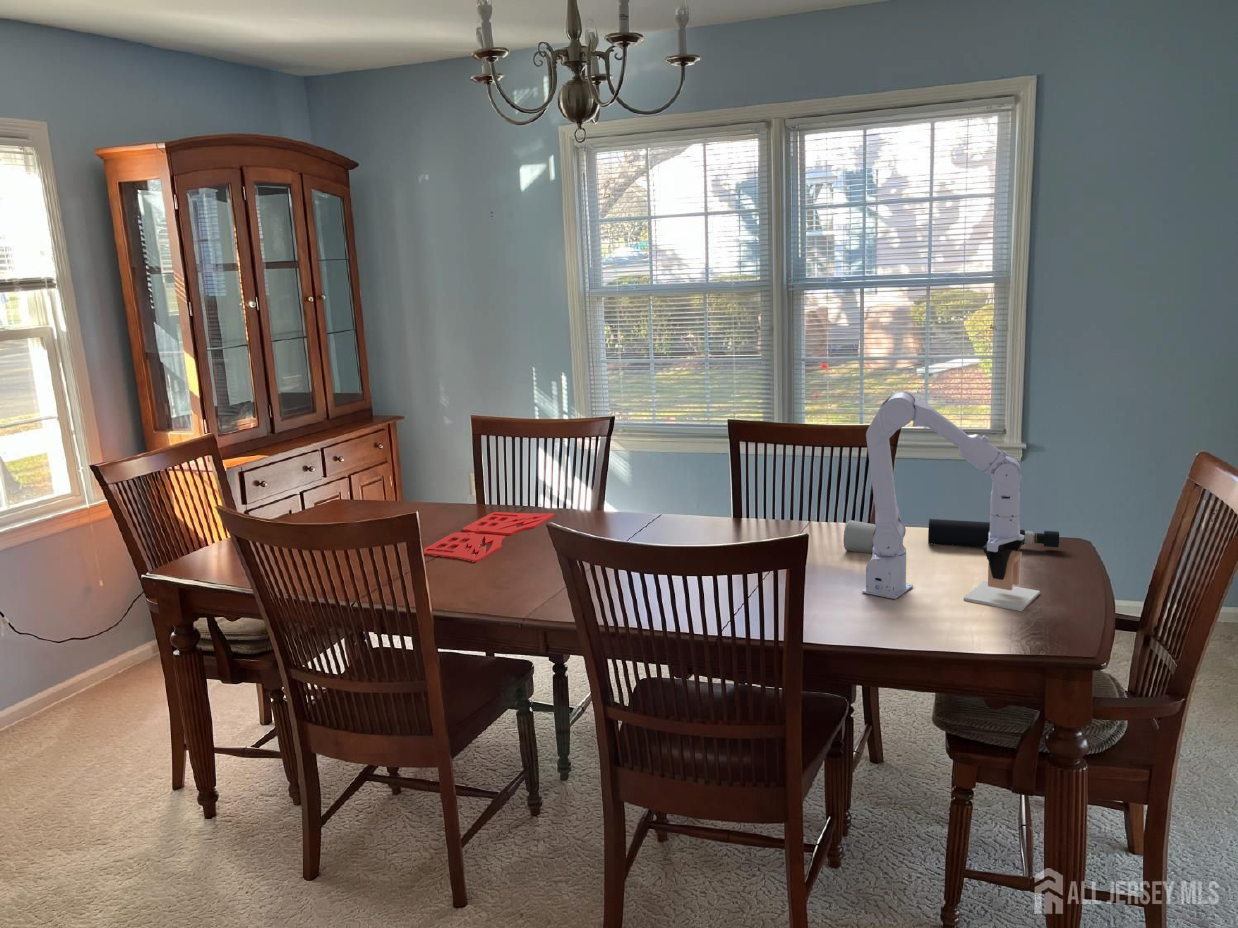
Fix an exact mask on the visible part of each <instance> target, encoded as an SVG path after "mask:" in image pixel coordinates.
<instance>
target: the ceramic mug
mask: <svg viewBox="0 0 1238 928" xmlns="http://www.w3.org/2000/svg"><path fill="white" fill-rule="evenodd" d="M875 532H876V526H875V524H874V523H869V522H863V521H858V520H852V519H850V520H848V521H847V523H846V524H845V527H844V531H843V542H842V543H843V548H844V550H845V551H850V552H857V553H858V552H859V553H866V554H873V546H874V545H873V537H874V534H875Z"/></svg>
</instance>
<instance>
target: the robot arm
mask: <svg viewBox="0 0 1238 928" xmlns="http://www.w3.org/2000/svg"><path fill="white" fill-rule="evenodd" d="M911 422H912V425H911V426H912V427H926V428H928V429H930V430H932V431H933V432H934V433H936V434H937V435H939V436H941V437H942V438H944V439H945V440H947V441H948V442H949V443H951V444H953V445H955V446H956V447H957V449H958V454H959V456H960V457H961V458H962V459H963V460H965V461H966V462H968V463H969V464H970V465H972V466H974V467H975V468H976V469H978V470H979V471H980V472H982V473H983V474H986V475H988V476H990V479H991V480H992V486H991V487H992V489H991V492H990V504H989V505H990V506H989V507H990V509H989V512H990V513H989V522H990V532H989V541H988V542H987V544H986V545H985V546H983V548H982V550H983V551H982V552H983V553H984V555H985V556H986V560H988V565H989V564H990V569H991V573H992V577H993V578H995V579H1000V580H1003V579H1004V576H1005V572H1006V566H1007V562H1008V559H1009V556H1010V554H1011V552H1012V551H1020V549H1021V547H1022V546H1023V545H1022V544H1023V543H1024V535H1021V534H1020V530H1021V525H1020V511H1021V510H1020V506H1021V492H1020V489H1021V485H1020V483H1021V481H1022V480H1023V474H1022V469H1021V465H1020V462H1019V460H1017V459H1016V458H1015V456H1014V455H1012V454H1008V452H1007V451H1006V450H1001V449H999V448H998V447H996V446H995V445H993V444H992V443H991V442H989V441H990V439H989V437H987V436H986V435H985V434H983V435H982V436H981V435H980V434H978V433H975V434H967V433H966V432H965V431H964V430H962V429H961V428H959V427H958V426H957V425H956V424H954V423H953V422H951V421H950V419H948V418H946V417H945V415H943V414H941V412H939V411H938V410H936V409H935V408H934V407H932V406H931V405H929V404H928V403H927V402H925V401H924V400H922V399H921V398H918V397H916V398H915V396H913V394H912V393H910V392H909V391H904V390H898V391H896V392H893V393H892V394H891V395H889V396H888V397H887V398H886V399H885V400H884V401H883V402H882V403H881V405H880V406H879V408H878V410H877V412H876V414H875V415H874V417H873V419H872V421H871V423H869V424H870V425H869V426H868V428H867V430H866V431H865V432H866V433H865V437H866V445H867V447H866V448H867V454H868V461H869V462H868V463H869V470H870V478H871V485H872V494H873V503H874V511H875V513H874V514H875V519H874V521H875V522H874V523H875V524H874V525H875V526H876V532H875V534H874V537H873V545H874V546H873V553H871V554H872V555H871V558H870V560H869V561H868V562H867V563H866V566H865V587H864V588H863V589H862V590H861V592H862V593H863V594H868V595H872V596H878V597H883V598H888V599H893V600H896V599H897V598H899V597H900V596H902V595H903V594H904V593H906V592H907V591H909V590H910V589H912V588H913V587H914V584H912V583H907V548H906V547H905V546H904V537H905V536H906V533H907V532H906V531H907V529H906V525H905V524H904V522H903V521H902V518H901V516H900V511H899V507H898V503H897V493H896V485H895V478H894V477H895V475H894V469H893V460H892V452H891V443H890V438H891V437H893V435H894V434H895V433H896V432H897V431H899V430H901V429H902V428H903V427H905V426H907V425H909V424H910V423H911Z"/></svg>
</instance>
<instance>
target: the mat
mask: <svg viewBox="0 0 1238 928" xmlns="http://www.w3.org/2000/svg"><path fill="white" fill-rule="evenodd" d="M1040 594H1041V591H1040V590H1037V589H1032V588H1031V589H1030V588H1026V587H1025V588H1024V587H1019V586H1015V585H1013V588H1012V590H1005V589H1000V588H994V587H989V586H988V580H983V581H982V582H981V583H980V584H978V585H977V586H976V587H974V589H972V590H971V591H970V592H968V594H966V595H965V596H964V597H963V601H965V602H966V601H967V602H972V603H977V604H981V605H986V606H992V607H997V608H1001V609H1008V610H1012V611H1018V612H1023V610H1025V608H1027V607H1028V605H1030V604H1032V602H1033V601H1034V600H1035V599H1036V598H1037V597H1038V596H1039V595H1040Z"/></svg>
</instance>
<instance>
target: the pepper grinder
mask: <svg viewBox="0 0 1238 928" xmlns="http://www.w3.org/2000/svg"><path fill="white" fill-rule="evenodd" d="M989 532H990V521H988V522H987V521H973V520H958V519H955V520H953V519H941V518H938V519H937V518H929V520H928V535H927V537H928V538H927V543H928V544H929V545H939V546H952V547H953V546H954V547H965V548H966V547H967V548H968V547H970V548H982V549H983V546H985V545H986V544H987V542H988V541H989ZM1020 534H1021V535H1024V543H1023V544H1022V546H1023V545H1033V540H1034V544H1043V547H1045V548H1046V547H1047V548H1059V546H1060V532H1059V531H1053V530H1044V531H1043V533H1041V532H1035V533H1034V532H1033V531H1031V530H1025V529H1020ZM1033 535H1034V536H1033ZM1033 538H1034V539H1033Z"/></svg>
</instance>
